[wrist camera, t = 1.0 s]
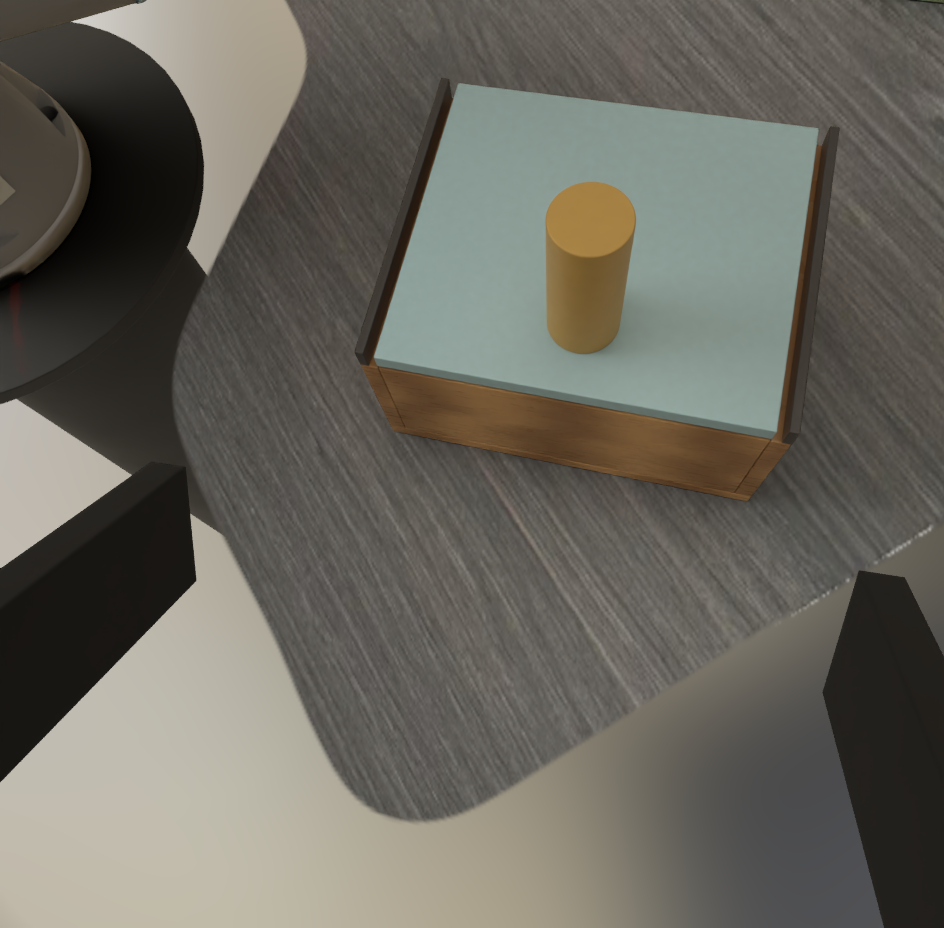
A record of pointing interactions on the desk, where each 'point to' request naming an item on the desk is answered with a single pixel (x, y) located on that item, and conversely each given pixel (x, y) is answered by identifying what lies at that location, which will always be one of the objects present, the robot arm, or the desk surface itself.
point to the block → (940, 0)
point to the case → (579, 425)
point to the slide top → (607, 257)
